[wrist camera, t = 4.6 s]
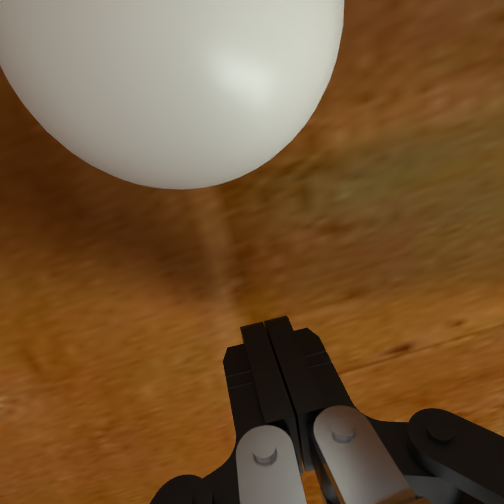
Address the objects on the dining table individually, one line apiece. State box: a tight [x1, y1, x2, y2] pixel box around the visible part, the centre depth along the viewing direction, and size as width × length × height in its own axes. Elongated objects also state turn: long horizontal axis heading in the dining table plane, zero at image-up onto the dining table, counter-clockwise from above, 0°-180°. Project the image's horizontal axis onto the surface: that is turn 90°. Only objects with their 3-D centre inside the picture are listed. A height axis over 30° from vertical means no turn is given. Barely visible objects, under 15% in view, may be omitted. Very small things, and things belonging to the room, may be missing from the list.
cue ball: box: [0, 0, 344, 189], centre depth 7 cm, size 6×6×6 cm
